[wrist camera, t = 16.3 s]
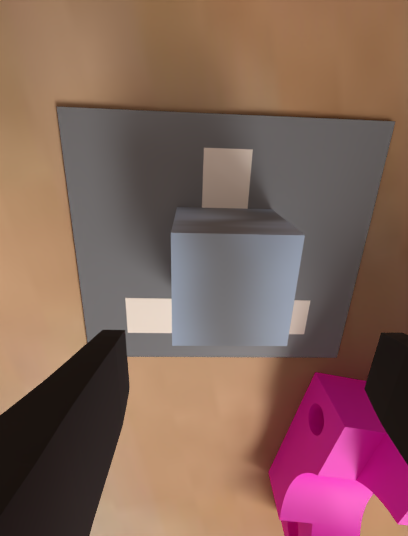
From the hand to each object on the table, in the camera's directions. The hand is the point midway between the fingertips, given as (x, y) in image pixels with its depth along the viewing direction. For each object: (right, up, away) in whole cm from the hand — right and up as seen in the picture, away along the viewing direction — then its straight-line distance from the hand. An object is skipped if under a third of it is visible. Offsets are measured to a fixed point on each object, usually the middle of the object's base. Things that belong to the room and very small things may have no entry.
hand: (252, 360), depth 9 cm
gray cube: (0, +3, +8) cm, 9 cm away
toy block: (+7, -12, +15) cm, 21 cm away
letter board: (0, +3, +8) cm, 9 cm away
